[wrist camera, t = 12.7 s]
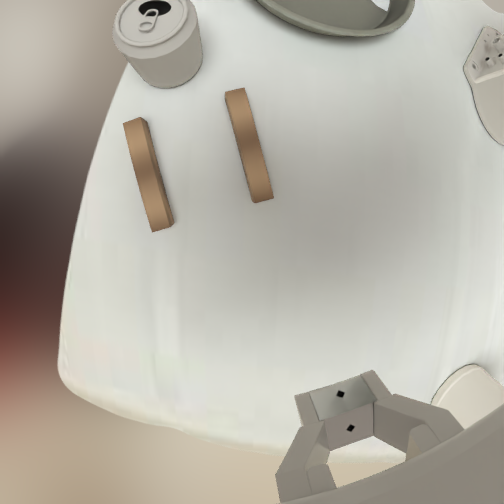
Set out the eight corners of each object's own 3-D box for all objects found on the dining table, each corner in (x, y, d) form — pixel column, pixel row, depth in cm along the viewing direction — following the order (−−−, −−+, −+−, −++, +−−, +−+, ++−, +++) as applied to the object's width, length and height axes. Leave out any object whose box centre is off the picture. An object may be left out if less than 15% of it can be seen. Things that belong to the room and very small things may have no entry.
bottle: (434, 430, 48) (500, 519, 21) (421, 397, 45) (506, 503, 18) (484, 388, 48) (559, 462, 21) (478, 349, 44) (575, 430, 17)
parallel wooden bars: (269, 196, 35) (273, 198, 32) (157, 227, 34) (152, 232, 32) (242, 94, 32) (244, 87, 29) (130, 127, 31) (122, 123, 29)
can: (210, 38, 30) (206, -16, 18) (194, 94, 31) (181, 55, 20) (149, 32, 29) (123, -19, 17) (131, 86, 30) (94, 50, 19)
